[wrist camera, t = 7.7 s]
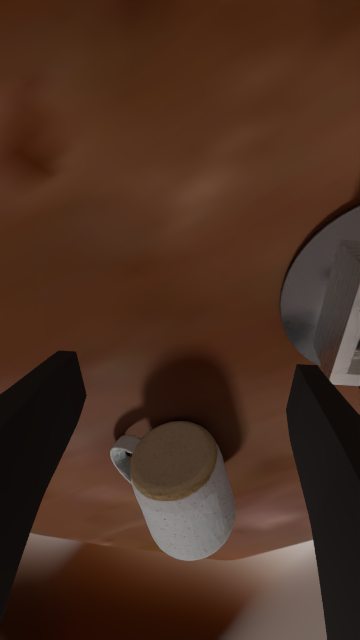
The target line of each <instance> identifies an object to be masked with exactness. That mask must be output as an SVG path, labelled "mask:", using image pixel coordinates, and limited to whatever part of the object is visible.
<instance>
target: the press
mask: <svg viewBox="0 0 360 640" xmlns="http://www.w3.org/2000/svg"><path fill="white" fill-rule="evenodd" d="M280 314H281V319H282V323H283V327H284V329H285V332H286V334H287V336H288V338H289V339H290V341H291V343H292V344H293V345H294V347H295V348H296V349H297V350H298V351H299V352H300V353H301V354H302V355H303V356H305V357H306V358H307V359H309V360H310V361H312V362H314V363H315V364H317V365H319V366H321V367H322V370H323V372H324V374H325V375H326V377H327V378H328V379H329V380H330V381H331V383H332V384H336V385H352V386H359V388H360V340H359V338H360V204H358V205H356V206H354V207H352V208H350V209H348V210H346V211H345V212H343V213H341V214H339V215H338V216H336V217H335V218H333V219H332V220H331V221H329V222H328V223H326V224H325V225H324V226H323V227H322V228H320V229H319V230H318V231H317V232H316V233H315V234H314V235H313V236H312V237H311V238H310V239H309V240H308V241H307V242H306V243H305V244H304V245H303V247H302V248H301V249H300V251H299V252H298V253H297V255H296V256H295V258H294V259H293V261H292V263H291V265H290V267H289V268H288V271H287V273H286V276H285V278H284V281H283V285H282V289H281V294H280Z"/></svg>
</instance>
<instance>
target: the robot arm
mask: <svg viewBox="0 0 360 640" xmlns="http://www.w3.org/2000/svg"><path fill="white" fill-rule="evenodd" d="M86 396H87V395H86V391H85V387H84V383H83V378H82V374H81V370H80V366H79V362H78V358H77V354H76V352H73V351H58V352H56V353H55V354H53V355H52V356H51V357H49V358H48V359H47V360H45V361H44V362H43V363H41V364H40V365H39V366H37V367H36V368H35V369H34V370H32V371H31V372H30V373H28V374H27V375H26V376H24V377H23V378H22V379H20V380H19V381H18V382H16V383H15V384H14V385H12V386H11V387H10V388H8V389H7V390H6V391H4V392H3V393H2V394H0V625H1V622H2V618H3V615H4V611H5V607H6V604H7V601H8V598H9V595H10V592H11V588H12V585H13V582H14V579H15V575H16V572H17V569H18V566H19V563H20V560H21V557H22V554H23V551H24V548H25V545H26V543H27V540H28V537H29V534H30V531H31V528H32V525H33V523H34V520H35V517H36V515H37V512H38V509H39V506H40V504H41V501H42V498H43V496H44V494H45V491H46V489H47V487H48V485H49V482H50V480H51V478H52V476H53V474H54V472H55V470H56V468H57V466H58V464H59V462H60V459H61V457H62V455H63V453H64V451H65V449H66V447H67V445H68V443H69V441H70V438H71V436H72V434H73V432H74V430H75V428H76V425H77V423H78V420H79V418H80V415H81V412H82V409H83V405H84V402H85V399H86ZM286 413H287V421H288V429H289V437H290V442H291V446H292V450H293V454H294V458H295V462H296V466H297V470H298V474H299V478H300V482H301V486H302V490H303V494H304V498H305V502H306V506H307V510H308V514H309V519H310V524H311V528H312V535H313V541H314V547H315V554H316V560H317V567H318V573H319V581H320V587H321V595H322V602H323V609H324V617H325V625H326V633H327V640H360V415H359V414H358V413H357V412H356V411H355V410H354V408H353V407H352V406H351V405H350V404H349V403H348V402H347V400H346V399H345V398H344V397H343V396H342V395H341V393H340V392H339V391H338V390H337V389H336V387H335V386H334V385H333V384H332V383H331V381H330V380H329V379H328V378H327V377H326V375H325V374H324V373H323V372H322V371H321V370H320V368H319V367H318V366H317V365H301V364H297V365H296V370H295V374H294V378H293V382H292V387H291V391H290V395H289V399H288V403H287V408H286Z"/></svg>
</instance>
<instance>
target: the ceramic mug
mask: <svg viewBox="0 0 360 640" xmlns="http://www.w3.org/2000/svg"><path fill="white" fill-rule="evenodd" d="M125 451H127V452H129V453H132V457H131V460H130V459H129V457H128V456H127V454H126V452H125ZM110 455H111V459H112V461H113V463H114V465H115V466H116V468H117V469H118V471H119V472H120V473H121V474H122V475H123V476H124V477H125V478H126V479H127V480H128V481H129V482H130V483H131V484H132V486H133V489H134V492H135V495H136V498H137V500H138V502H139V504H140V507H141V509H142V512H143V515H144V517H145V520H146V523H147V525H148V528H149V530H150V533H151V535H152V537H153V538H154V540H155V542H156V543H157V545H158V546H159V547H160V548H161V549H162V550H163V551H164V552H165V553H167V554H169V555H170V556H172V557H174V558H176V559H180V560H187V561H192V560H198V559H202V558H206V557H208V556H210V555H211V554H213V553H215V552H216V551H217V550H218V549H219V548H220V547H221V546H222V545H223V544H224V543H225V541H226V540H227V538H228V537H229V535H230V533H231V531H232V528H233V525H234V521H235V502H234V498H233V494H232V491H231V487H230V483H229V479H228V476H227V473H226V470H225V466H224V461H223V457H222V454H221V452H220V449H219V447H218V445H217V444H216V442H215V440H214V438H213V437H212V435H211V434H210V433H209V432H208V431H207V430H206V429H205V428H203V427H202V426H200V425H197V424H195V423H192V422H188V421H174V422H169V423H165V424H163V425H160V426H158V427H156V428H154V429H153V430H151V431H150V432H148V433H147V434H146V435H145V436H144V437H143V438H142V439H141V438H139V437H136V436H131V435H123V436H121V437H120V438H119V439H118V440H117V442H116V443H115V444H114V445H113V447H112V449H111V451H110Z"/></svg>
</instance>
